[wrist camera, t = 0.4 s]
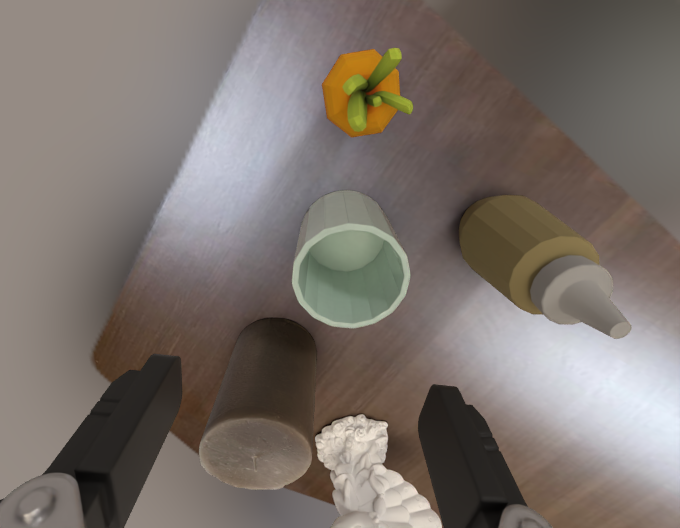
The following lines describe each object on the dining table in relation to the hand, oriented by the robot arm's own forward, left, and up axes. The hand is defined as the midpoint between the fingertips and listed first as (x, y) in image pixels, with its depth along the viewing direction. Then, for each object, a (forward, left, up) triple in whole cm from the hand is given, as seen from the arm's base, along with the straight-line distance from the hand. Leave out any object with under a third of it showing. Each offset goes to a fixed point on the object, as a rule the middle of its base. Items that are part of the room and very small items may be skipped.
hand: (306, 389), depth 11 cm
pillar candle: (+20, -3, -25) cm, 32 cm away
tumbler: (+4, +3, -25) cm, 25 cm away
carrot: (-9, +2, -25) cm, 27 cm away
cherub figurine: (+35, +10, -25) cm, 44 cm away
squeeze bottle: (+1, +17, -25) cm, 31 cm away
